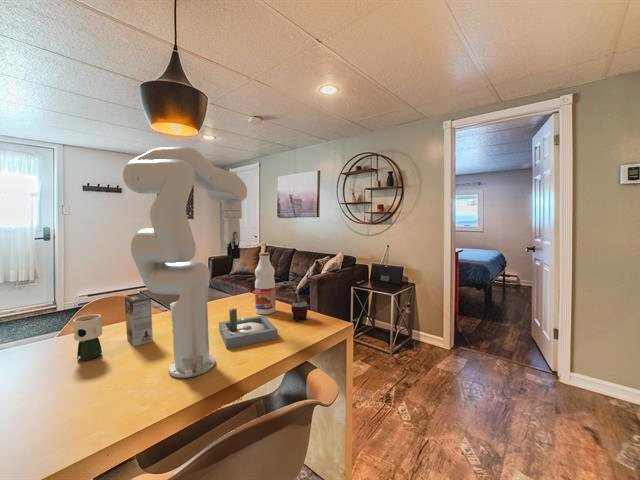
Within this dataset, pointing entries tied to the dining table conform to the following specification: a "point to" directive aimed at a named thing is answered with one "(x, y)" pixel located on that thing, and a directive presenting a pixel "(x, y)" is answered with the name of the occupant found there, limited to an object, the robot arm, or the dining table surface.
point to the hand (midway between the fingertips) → (233, 257)
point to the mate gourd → (299, 308)
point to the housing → (250, 337)
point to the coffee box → (138, 319)
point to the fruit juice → (265, 286)
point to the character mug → (88, 335)
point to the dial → (242, 325)
